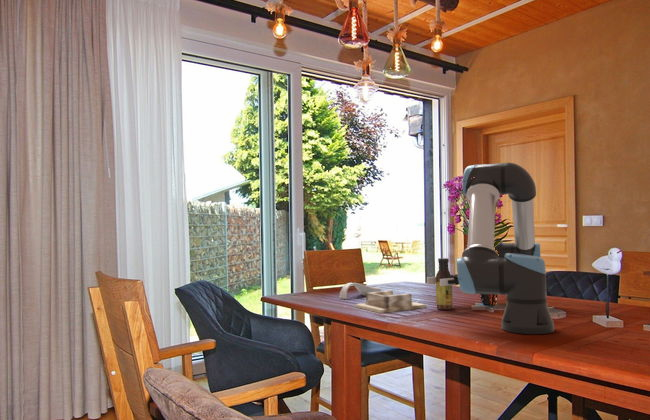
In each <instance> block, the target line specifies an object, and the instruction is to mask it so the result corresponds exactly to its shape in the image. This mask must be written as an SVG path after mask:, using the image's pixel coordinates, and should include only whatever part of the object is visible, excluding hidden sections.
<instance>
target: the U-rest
mask: <svg viewBox="0 0 650 420" xmlns="http://www.w3.org/2000/svg"><path fill="white" fill-rule="evenodd" d="M412 297H413V296H412V293H402V294H395V295H394V291H393V290H391V289H390V290H382V291H381V290H380V292H370V293H366V296H365V298H366V299H365V300H366V301H365V302H362V303H356V304H355V307H356V308H358V309H362V310H366V311H371V312H374V313H378V314H386V313H387V314H388V313H394V312H401V311H402V312H403V311H409V310H417V309H425V308H427V305H426V304H425V303H419V302H415V301H412V300H413V298H412Z"/></svg>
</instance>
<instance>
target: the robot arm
mask: <svg viewBox="0 0 650 420" xmlns="http://www.w3.org/2000/svg"><path fill="white" fill-rule="evenodd" d="M473 177H475V178H473ZM471 178H472V179H471ZM536 187H537V186H536V183H535V181H534V179H533V177H532V176H531V174H530V173H529V172H528V171H527V170H526V169H525V168H523V167H522V165H519V164H517V163H515V162H514V163H513V162H499V163H498V162H497V163H484V164H478V163H476V164H473V165H471V164H470V165H468V166H466V168H465V169H464V172H463V176H462V193H463V195H464V196H465V197H466V198H467V200H468V201H469V216H468V218H469V219H468V229H467V230H468V233H467V244H466V245H467V247H466V248H465V249H464V250H463V251H462V255H461V256H460V257H457V258H456V261H455V263H456V272H457V273H456V274H454V273H453V274H450V275H451V277H452V278H445V279H440V286H448V285H452V286H458V285H459V289H460V291H461V293H463V294H469V295H470V294H472V295H497V296H499V295H500V296H506V305H505V308H504V312H503V315H502V318H501V330H504V331H506V332H510V333H514V334H523V335H524V334H525V335H545V334H547V335H548V334H550V333H551V334H552V333H554V332H555V323H554V320H553V317H552V314H551V313H550V309H549V307H548V302H547V301H548V300H547V299H548V298H547V295H548V294H547V279H546V275H547V271H546V262H545V260H544V259H543V258H542V257H541V244H540V243H539V242H536V236H535V234H536V233H535V213H534V211H535V210H534V205H535V204H534V199H536V197H537V188H536ZM500 195H501V196H503V195H507V196H508V198H509V199H510V201H511V207H512V221H513V235H514V236H513V237H514V242H513V243H512V242H503V241H502V242H500V243H499V244H498V245H497V246H496V247H495V250H497V251H498V254H499V256H498V254H497V252H496V251H495V250H494V239H495V226H496V225H495V223H496V222H495V219H496V202H497V201H498V200H499V199H500ZM426 285H436V276H427V277H426Z"/></svg>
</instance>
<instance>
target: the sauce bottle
mask: <svg viewBox="0 0 650 420" xmlns="http://www.w3.org/2000/svg"><path fill="white" fill-rule="evenodd" d="M437 260H438V261H437V262H438V271H437V272H436V275H435V277H436V284H435V302H436V303H435V305H436V309H438V310H443V311H444V310H452V309H453V285H448V286H440V279H445V278H452V277H451V275H452V274H451V272H450V270H449V269H450V268H449V261H450V260H449V258H448V257H447V258H446V257H441V258H438V259H437Z"/></svg>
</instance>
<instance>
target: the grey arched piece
mask: <svg viewBox="0 0 650 420" xmlns="http://www.w3.org/2000/svg"><path fill="white" fill-rule="evenodd" d="M352 286H354V287H355V288H356V289H357V291H358V293H360V294H361V296H365V297H366V293H370V292H380V291H381V290H382V287H378V286H368V285H365V284H363V283H358V282H347V283H345V284H344V285H343V286H342V288H341V289H340V291H339V299H343V300H347V299H348V290H349V289H350V287H352Z"/></svg>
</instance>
